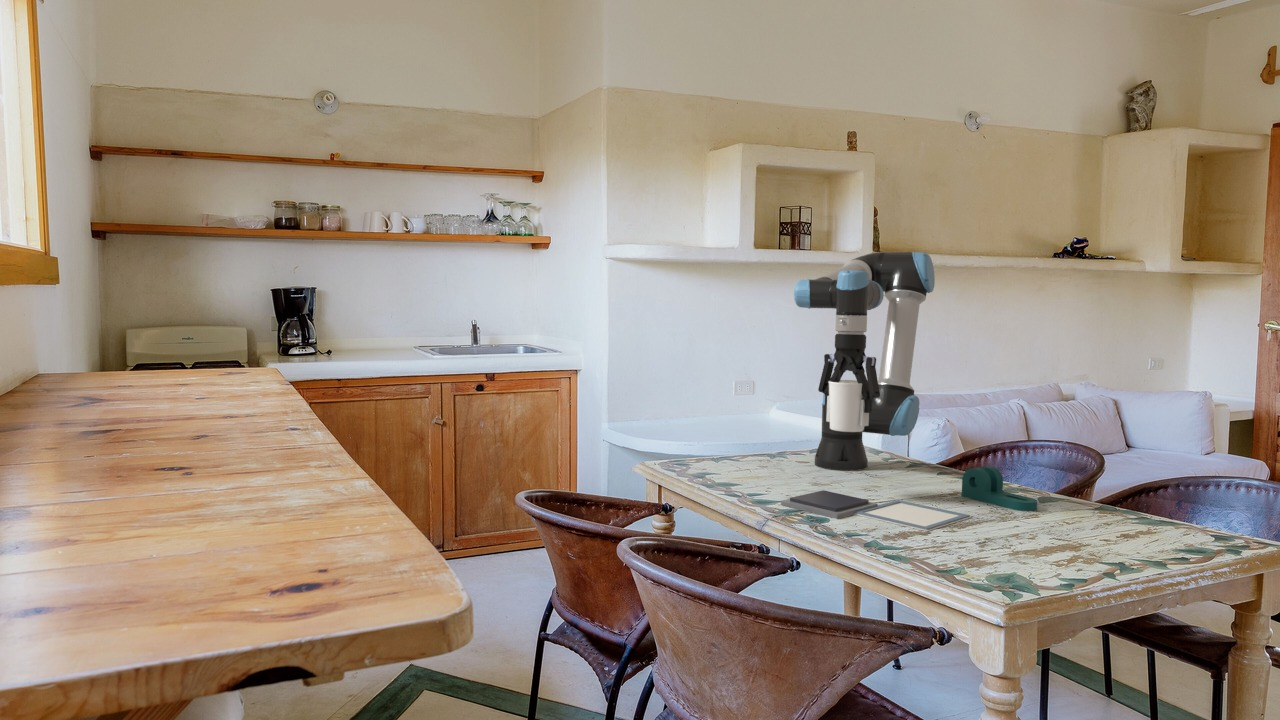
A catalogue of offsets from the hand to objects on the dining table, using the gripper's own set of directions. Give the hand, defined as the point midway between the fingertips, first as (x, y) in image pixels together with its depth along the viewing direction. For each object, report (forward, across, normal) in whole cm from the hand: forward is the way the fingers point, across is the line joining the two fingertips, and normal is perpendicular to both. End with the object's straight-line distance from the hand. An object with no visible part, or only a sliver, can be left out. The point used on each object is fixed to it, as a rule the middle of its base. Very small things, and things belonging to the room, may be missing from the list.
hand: (847, 423), depth 220 cm
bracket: (+18, +29, +24) cm, 42 cm away
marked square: (+18, +22, -5) cm, 29 cm away
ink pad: (+18, +5, -13) cm, 23 cm away
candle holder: (+2, 0, 0) cm, 2 cm away
